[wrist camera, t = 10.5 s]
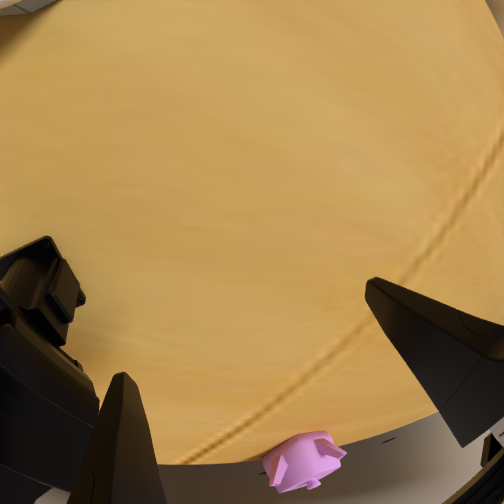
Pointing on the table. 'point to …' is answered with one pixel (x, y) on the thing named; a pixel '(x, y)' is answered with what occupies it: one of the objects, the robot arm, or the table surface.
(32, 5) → the bowl
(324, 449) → the teakettle
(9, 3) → the lid
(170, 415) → the table surface
